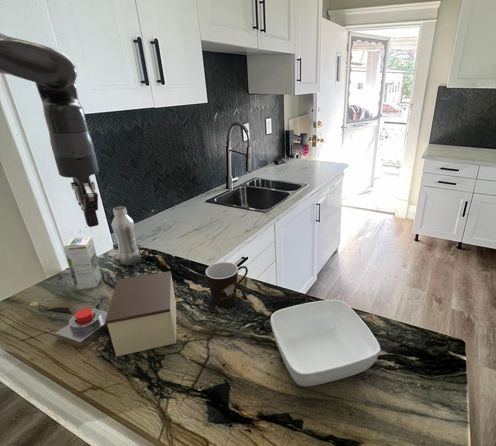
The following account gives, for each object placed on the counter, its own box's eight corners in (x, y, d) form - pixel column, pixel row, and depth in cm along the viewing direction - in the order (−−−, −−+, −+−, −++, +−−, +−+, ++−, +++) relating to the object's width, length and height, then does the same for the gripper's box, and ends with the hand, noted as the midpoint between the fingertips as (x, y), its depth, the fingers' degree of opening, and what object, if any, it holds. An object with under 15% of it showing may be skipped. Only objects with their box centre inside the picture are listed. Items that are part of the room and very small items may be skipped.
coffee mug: (209, 312, 84) (205, 280, 80) (208, 293, 92) (205, 264, 88) (252, 305, 87) (250, 274, 83) (248, 288, 95) (246, 259, 91)
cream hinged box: (176, 343, 74) (170, 309, 70) (116, 356, 70) (106, 321, 66) (176, 303, 87) (171, 273, 84) (125, 313, 83) (118, 282, 80)
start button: (84, 325, 74) (82, 319, 73) (73, 321, 75) (71, 316, 74) (97, 316, 77) (96, 310, 76) (86, 312, 78) (85, 306, 77)
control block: (82, 349, 72) (77, 335, 70) (57, 340, 74) (52, 327, 73) (118, 321, 81) (115, 308, 79) (95, 314, 83) (91, 302, 81)
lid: (170, 311, 69) (169, 308, 69) (105, 324, 65) (104, 321, 65) (171, 273, 84) (170, 271, 83) (118, 282, 80) (117, 279, 79)
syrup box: (81, 280, 97) (69, 238, 92) (103, 277, 99) (92, 235, 93) (75, 290, 92) (62, 246, 87) (98, 287, 94) (86, 244, 88)
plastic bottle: (133, 256, 112) (122, 203, 104) (146, 261, 108) (135, 207, 101) (116, 264, 106) (102, 209, 99) (128, 270, 103) (115, 213, 95)
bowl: (340, 317, 83) (342, 293, 80) (385, 379, 66) (390, 351, 63) (265, 335, 77) (264, 310, 74) (293, 409, 59) (293, 380, 56)
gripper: (48, 150, 71) (68, 221, 77) (59, 159, 62) (81, 238, 69) (86, 147, 75) (102, 214, 82) (102, 155, 67) (118, 229, 73)
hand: (93, 225), depth 75 cm, fingers closed
